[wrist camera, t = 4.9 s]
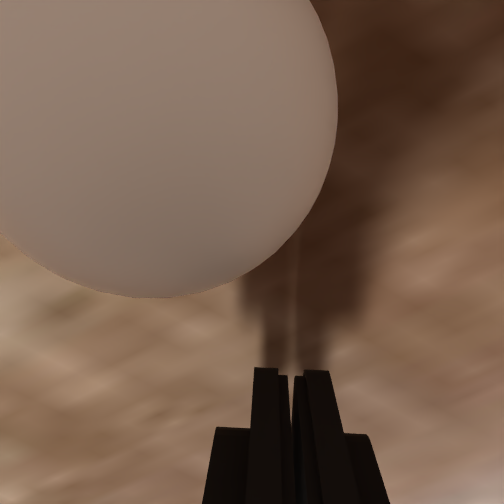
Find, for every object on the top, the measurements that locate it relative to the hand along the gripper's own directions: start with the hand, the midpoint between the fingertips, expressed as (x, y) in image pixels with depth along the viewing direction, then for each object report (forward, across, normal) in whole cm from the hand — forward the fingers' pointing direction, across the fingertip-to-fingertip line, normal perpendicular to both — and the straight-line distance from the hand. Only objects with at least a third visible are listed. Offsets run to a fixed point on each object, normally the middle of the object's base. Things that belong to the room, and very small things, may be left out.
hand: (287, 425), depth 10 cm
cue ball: (-1, +2, -6) cm, 7 cm away
